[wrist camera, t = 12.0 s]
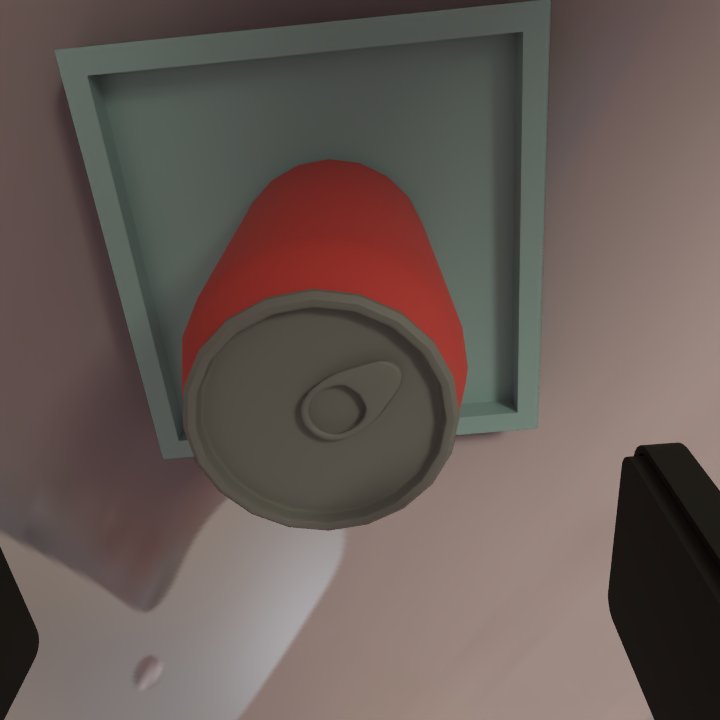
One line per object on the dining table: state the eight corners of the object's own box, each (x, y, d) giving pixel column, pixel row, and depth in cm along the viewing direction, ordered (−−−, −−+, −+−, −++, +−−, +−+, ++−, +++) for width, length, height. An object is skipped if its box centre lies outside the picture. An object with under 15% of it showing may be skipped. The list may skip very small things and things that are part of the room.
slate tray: (535, 1, 21) (550, -1, 20) (526, 405, 28) (537, 428, 26) (75, 48, 22) (54, 49, 20) (173, 435, 28) (163, 459, 27)
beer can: (460, 264, 24) (548, 447, 14) (321, 364, 26) (301, 596, 15) (348, 114, 22) (348, 190, 11) (203, 234, 24) (83, 401, 13)
